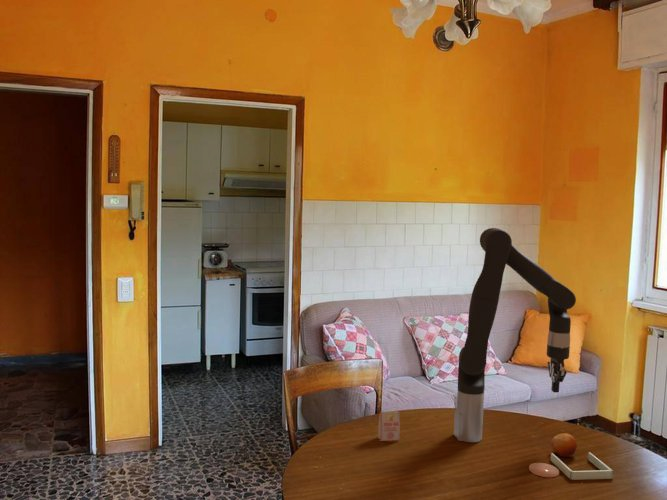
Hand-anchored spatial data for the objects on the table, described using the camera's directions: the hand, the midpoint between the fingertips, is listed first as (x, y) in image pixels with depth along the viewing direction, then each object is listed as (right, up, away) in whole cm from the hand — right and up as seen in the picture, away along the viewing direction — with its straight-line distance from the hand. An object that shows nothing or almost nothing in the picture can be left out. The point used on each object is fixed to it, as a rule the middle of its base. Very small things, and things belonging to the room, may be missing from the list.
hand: (555, 391), depth 219 cm
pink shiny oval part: (-12, -20, -24) cm, 33 cm away
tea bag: (-59, -16, -2) cm, 62 cm away
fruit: (-1, -19, -11) cm, 22 cm away
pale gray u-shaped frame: (0, -20, -22) cm, 30 cm away
